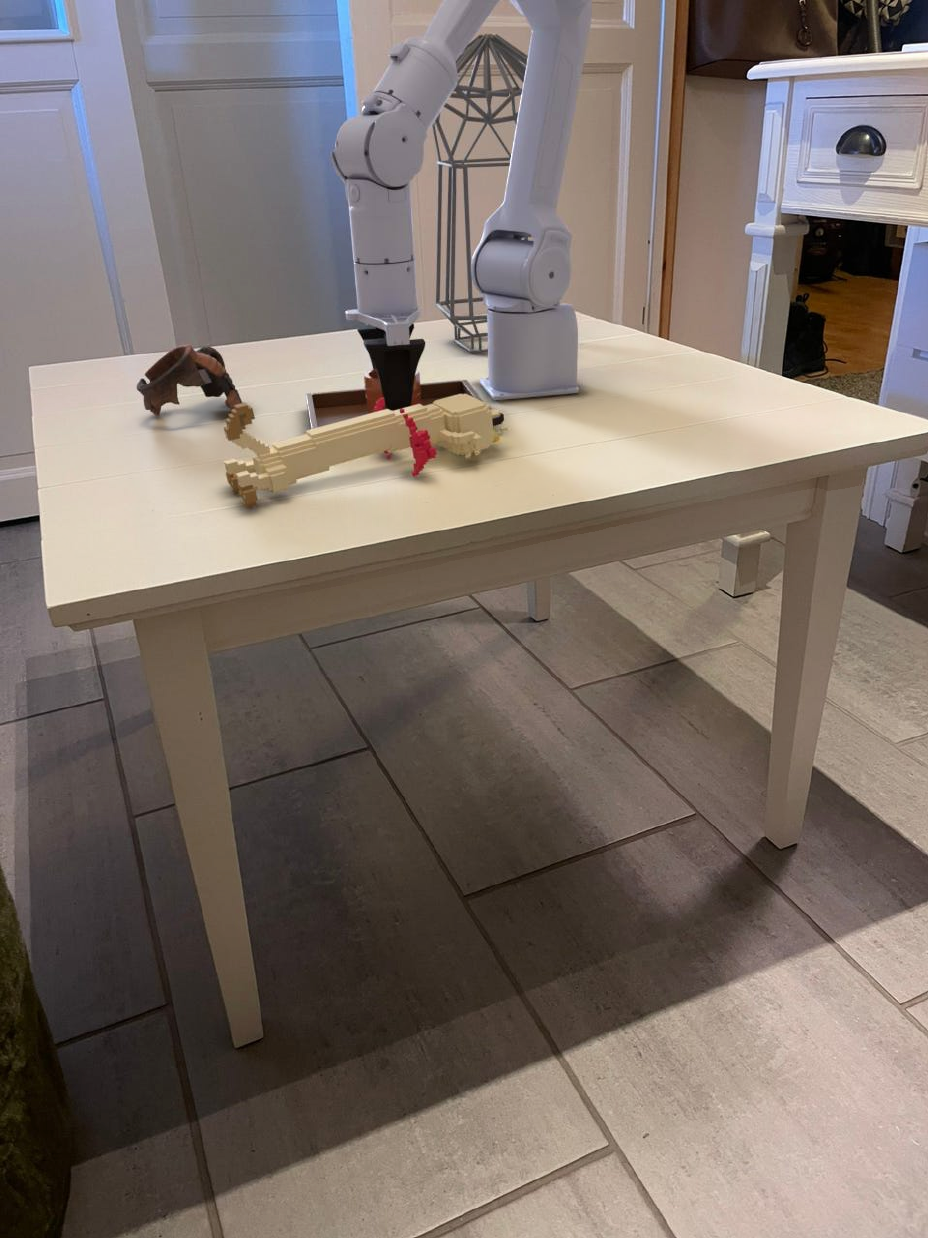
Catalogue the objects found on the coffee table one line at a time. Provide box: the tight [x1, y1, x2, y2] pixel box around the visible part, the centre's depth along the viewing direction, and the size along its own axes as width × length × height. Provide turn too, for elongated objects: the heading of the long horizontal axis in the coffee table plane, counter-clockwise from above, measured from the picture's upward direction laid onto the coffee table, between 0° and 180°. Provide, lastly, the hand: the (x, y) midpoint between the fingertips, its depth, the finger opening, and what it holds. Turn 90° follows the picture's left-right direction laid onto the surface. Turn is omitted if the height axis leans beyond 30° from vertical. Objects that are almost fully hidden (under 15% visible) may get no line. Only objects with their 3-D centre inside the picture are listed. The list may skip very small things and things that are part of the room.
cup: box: [363, 368, 421, 414], centre depth 93 cm, size 5×6×4 cm
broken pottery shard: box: [136, 343, 244, 417], centre depth 99 cm, size 12×10×8 cm
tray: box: [305, 379, 485, 430], centre depth 94 cm, size 17×13×2 cm
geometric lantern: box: [431, 33, 529, 354], centre depth 116 cm, size 16×16×35 cm
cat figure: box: [223, 394, 509, 509], centre depth 80 cm, size 10×9×25 cm
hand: (394, 404), depth 94 cm, fingers closed on cup, 5 cm apart
